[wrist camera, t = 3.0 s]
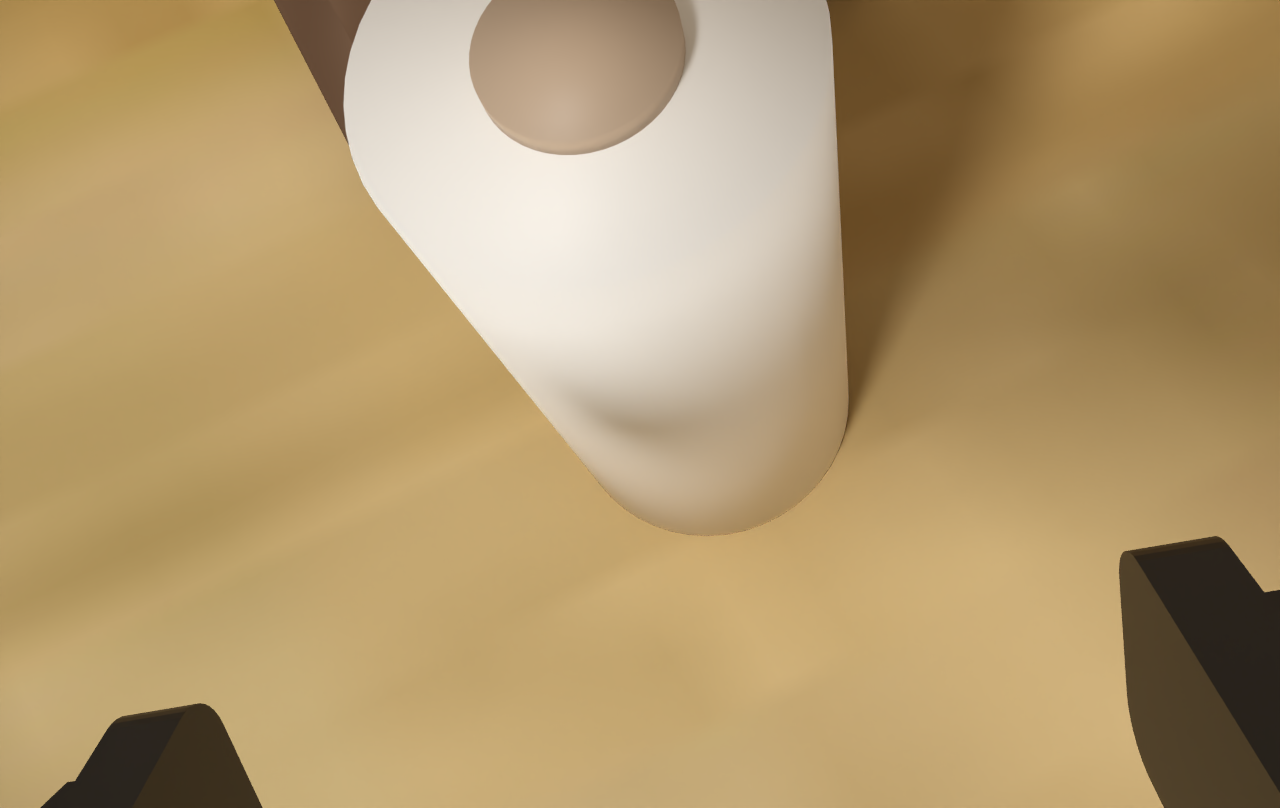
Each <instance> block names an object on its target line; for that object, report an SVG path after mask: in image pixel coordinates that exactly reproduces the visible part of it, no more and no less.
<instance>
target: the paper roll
mask: <svg viewBox="0 0 1280 808" xmlns="http://www.w3.org/2000/svg"><path fill="white" fill-rule="evenodd" d="M343 106H344V117H345V128H346V135H347V139H348V143H349V147H350V151H351V155H352V159H353V161H354V164H355V166H356V169H357V171H358V173H359V176H360V178H361V181H362V183H363V185H364V186H365V188H366V190H367V191H368V193H369V195H370V196H371V198H372V199H373V201H374V203H375V204H376V206H377V207H378V209H379V210H380V211H381V212H382V214H383V215H384V216H385V217H386V219H387V220H388V221H389V222H390V224H391V225H392V226H393V227H394V229H395V230H396V231H397V232H398V234H399V235H400V236H401V237H402V239H403V240H404V241H405V242H406V244H407V245H408V246H409V247H410V249H411V250H412V251H413V252H414V253H415V255H416V256H417V257H418V258H419V260H420V261H421V262H422V263H423V265H424V266H425V267H426V268H427V270H428V271H429V272H430V273H431V275H432V276H433V277H434V278H435V280H436V281H437V282H438V283H439V285H440V286H441V287H442V288H443V290H444V291H445V292H446V293H447V295H448V296H449V297H450V298H451V300H452V301H453V302H454V303H455V304H456V306H457V307H458V308H459V309H460V311H461V312H462V313H463V314H464V316H465V317H466V318H467V319H468V321H469V322H470V323H471V324H472V326H473V327H474V328H475V329H476V331H477V332H478V333H479V334H480V336H481V337H482V338H483V339H484V341H485V342H486V343H487V344H488V346H489V347H490V348H491V349H492V351H493V352H494V353H495V354H496V355H497V357H498V358H499V359H500V360H501V362H502V363H503V364H504V365H505V367H506V368H507V369H508V370H509V372H510V373H511V374H512V375H513V377H514V378H515V379H516V380H517V382H518V383H519V384H520V385H521V387H522V388H523V389H524V390H525V392H526V393H527V394H528V395H529V397H530V398H531V399H532V400H533V402H534V403H535V404H536V405H537V406H538V408H539V409H540V410H541V411H542V413H543V414H544V415H545V416H546V418H547V419H548V420H549V421H550V423H551V424H552V425H553V426H554V428H555V429H556V430H557V431H558V433H559V434H560V435H561V436H562V438H563V439H564V440H565V441H566V443H567V444H568V445H569V446H570V448H571V449H572V450H573V451H574V453H575V454H576V455H577V456H578V457H579V459H580V460H581V461H582V462H583V464H584V465H585V466H586V467H587V469H588V470H589V471H590V472H591V474H592V475H593V476H594V477H595V479H596V480H597V481H598V482H599V484H600V485H601V486H602V487H603V488H604V489H605V491H606V492H607V493H608V494H609V495H610V497H612V498H613V499H614V500H615V501H616V502H617V503H618V504H619V505H621V506H622V507H623V508H624V509H626V510H627V511H629V512H630V513H632V514H633V515H635V516H636V517H638V518H639V519H641V520H643V521H645V522H648V523H650V524H652V525H654V526H656V527H659V528H662V529H665V530H668V531H672V532H677V533H682V534H687V535H700V536H714V535H727V534H732V533H737V532H742V531H746V530H749V529H752V528H754V527H757V526H760V525H763V524H765V523H767V522H769V521H771V520H773V519H775V518H777V517H779V516H781V515H782V514H784V513H785V512H787V511H788V510H790V509H791V508H793V507H794V506H796V505H797V504H798V503H799V502H800V501H801V500H802V499H804V498H805V497H806V496H807V495H808V494H809V493H810V492H811V491H812V490H813V489H814V488H815V486H816V485H817V484H818V483H819V482H820V481H821V479H822V478H823V476H824V475H825V473H826V472H827V471H828V469H829V468H830V466H831V464H832V462H833V460H834V458H835V456H836V454H837V452H838V450H839V448H840V445H841V442H842V439H843V436H844V433H845V428H846V423H847V417H848V404H849V391H848V369H847V348H846V326H845V305H844V283H843V261H842V240H841V218H840V197H839V175H838V153H837V132H836V110H835V89H834V67H833V45H832V33H831V23H830V13H829V9H828V5H827V1H826V0H371V2H370V4H369V6H368V8H367V10H366V12H365V14H364V16H363V18H362V20H361V22H360V24H359V27H358V30H357V33H356V36H355V39H354V42H353V45H352V48H351V51H350V55H349V60H348V65H347V71H346V76H345V87H344V105H343Z"/></svg>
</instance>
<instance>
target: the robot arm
mask: <svg viewBox="0 0 1280 808" xmlns="http://www.w3.org/2000/svg"><path fill="white" fill-rule="evenodd" d="M1119 579H1120V594H1121V609H1122V624H1123V640H1124V655H1125V670H1126V685H1127V698H1128V706H1129V713H1130V718H1131V723H1132V727H1133V732H1134V735H1135V739H1136V743H1137V746H1138V749H1139V752H1140V755H1141V758H1142V761H1143V764H1144V766H1145V769H1146V771H1147V773H1148V776H1149V778H1150V780H1151V782H1152V784H1153V786H1154V788H1155V790H1156V792H1157V794H1158V796H1159V798H1160V800H1161V802H1162V804H1163V806H1164V808H1280V590H1277V591H1270V592H1263V590H1262V589H1261V588H1260V586H1259V585H1258V584H1257V582H1256V581H1255V580H1254V578H1253V577H1252V576H1251V574H1250V573H1249V572H1248V570H1247V569H1246V568H1245V566H1244V565H1243V564H1242V562H1241V561H1240V560H1239V558H1238V557H1237V556H1236V554H1235V553H1234V552H1233V550H1232V549H1231V548H1230V546H1229V545H1228V544H1227V543H1226V542H1225V541H1224V540H1223V539H1222V538H1220V537H1217V536H1214V537H1208V538H1202V539H1196V540H1190V541H1184V542H1178V543H1172V544H1166V545H1160V546H1154V547H1148V548H1142V549H1136V550H1130V551H1124V552H1123V553H1122V555H1121V558H1120V565H1119ZM41 808H262V806H261V804H260V802H259V799H258V797H257V795H256V793H255V791H254V789H253V787H252V785H251V782H250V780H249V778H248V776H247V774H246V772H245V770H244V767H243V765H242V763H241V761H240V759H239V757H238V755H237V753H236V750H235V748H234V746H233V744H232V742H231V740H230V738H229V735H228V733H227V731H226V729H225V727H224V725H223V723H222V721H221V719H220V717H219V716H218V715H217V713H216V712H215V711H214V710H213V709H212V708H211V707H210V706H208V705H206V704H201V703H199V704H193V705H187V706H181V707H175V708H170V709H164V710H158V711H152V712H146V713H140V714H134V715H128V716H122V717H120V718H118V719H116V720H115V721H114V722H113V723H112V724H111V725H110V727H109V728H108V729H107V731H106V732H105V734H104V736H103V737H102V739H101V740H100V742H99V744H98V745H97V747H96V748H95V750H94V752H93V753H92V755H91V756H90V758H89V760H88V761H87V763H86V764H85V766H84V768H83V769H82V771H81V773H80V774H79V776H78V777H77V779H76V781H73V782H67V783H66V784H65V785H64V786H63V787H62V788H61V789H60V790H59V791H58V792H57V793H55V794H54V795H53V796H52V797H51V798H50V799H49V800H48V801H47V802H46V803H45V804H44V805H43V806H42V807H41Z"/></svg>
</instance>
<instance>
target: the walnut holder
mask: <svg viewBox="0 0 1280 808" xmlns="http://www.w3.org/2000/svg"><path fill="white" fill-rule="evenodd" d="M274 1H275V3H276V5H277V7H278V9H279V11H280V13H281V15H282V17H283V19H284V20H285V22H286V24H287V26H288V28H289V30H290V32H291V34H292V36H293V38H294V40H295V42H296V44H297V46H298V48H299V50H300V51H301V53H302V55H303V57H304V59H305V61H306V63H307V65H308V67H309V69H310V71H311V73H312V75H313V77H314V79H315V81H316V82H317V84H318V86H319V88H320V90H321V92H322V94H323V96H324V98H325V100H326V102H327V104H328V106H329V108H330V110H331V112H332V113H333V115H334V117H335V119H336V121H337V123H338V125H339V127H340V129H341V131H342V133H343V135H344V137H345V139H346V141H347V143H348V139H347V135H346V128H345V117H344V106H343V105H344V87H345V76H346V71H347V65H348V60H349V55H350V51H351V48H352V45H353V42H354V39H355V36H356V33H357V30H358V27H359V24H360V22H361V20H362V18H363V16H364V14H365V12H366V10H367V8H368V6H369V4H370V2H371V0H274ZM348 144H349V143H348Z"/></svg>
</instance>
